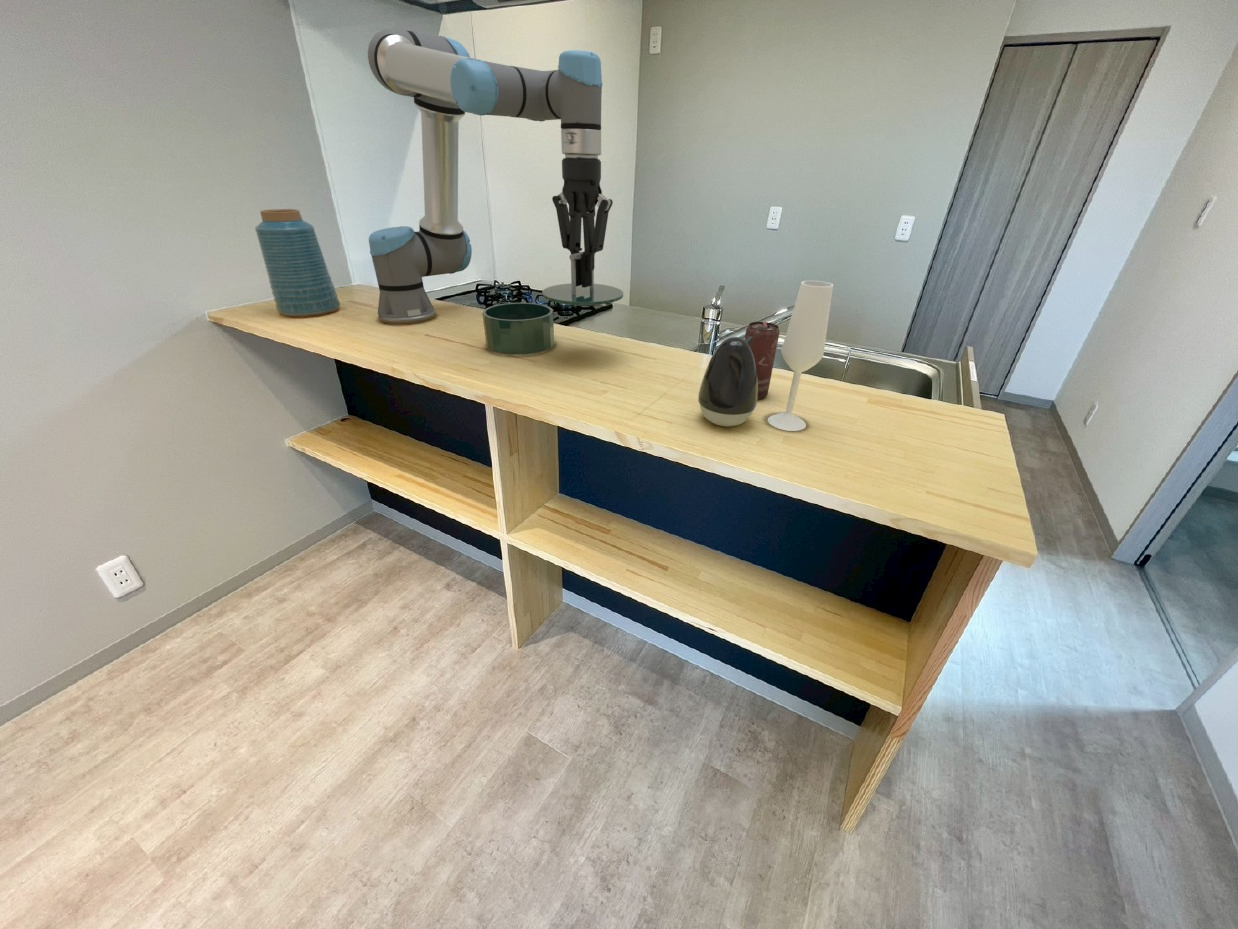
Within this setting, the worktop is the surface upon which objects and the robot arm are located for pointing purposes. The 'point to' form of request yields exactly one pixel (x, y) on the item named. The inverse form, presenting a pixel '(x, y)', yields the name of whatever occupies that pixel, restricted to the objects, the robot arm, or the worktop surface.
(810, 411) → the worktop surface
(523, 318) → the pot
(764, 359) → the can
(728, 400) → the dark grey egg shape
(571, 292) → the lid
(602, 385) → the worktop surface
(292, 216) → the vase
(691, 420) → the worktop surface
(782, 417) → the champagne flute
